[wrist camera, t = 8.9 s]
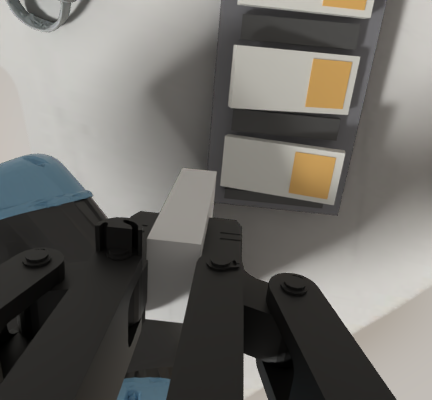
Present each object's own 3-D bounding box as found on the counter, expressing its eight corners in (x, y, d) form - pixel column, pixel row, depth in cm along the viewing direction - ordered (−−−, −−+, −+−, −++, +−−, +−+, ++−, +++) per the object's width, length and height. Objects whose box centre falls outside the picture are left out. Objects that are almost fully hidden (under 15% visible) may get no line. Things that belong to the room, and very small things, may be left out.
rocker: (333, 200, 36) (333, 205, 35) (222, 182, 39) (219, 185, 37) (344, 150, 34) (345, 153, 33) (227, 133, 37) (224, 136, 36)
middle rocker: (341, 112, 36) (348, 115, 34) (227, 105, 33) (231, 108, 32) (353, 55, 34) (360, 56, 33) (233, 44, 31) (237, 45, 30)
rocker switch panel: (331, 204, 42) (339, 219, 39) (207, 191, 43) (203, 205, 39) (392, -73, 32) (411, -89, 29) (230, -87, 33) (228, -104, 29)
